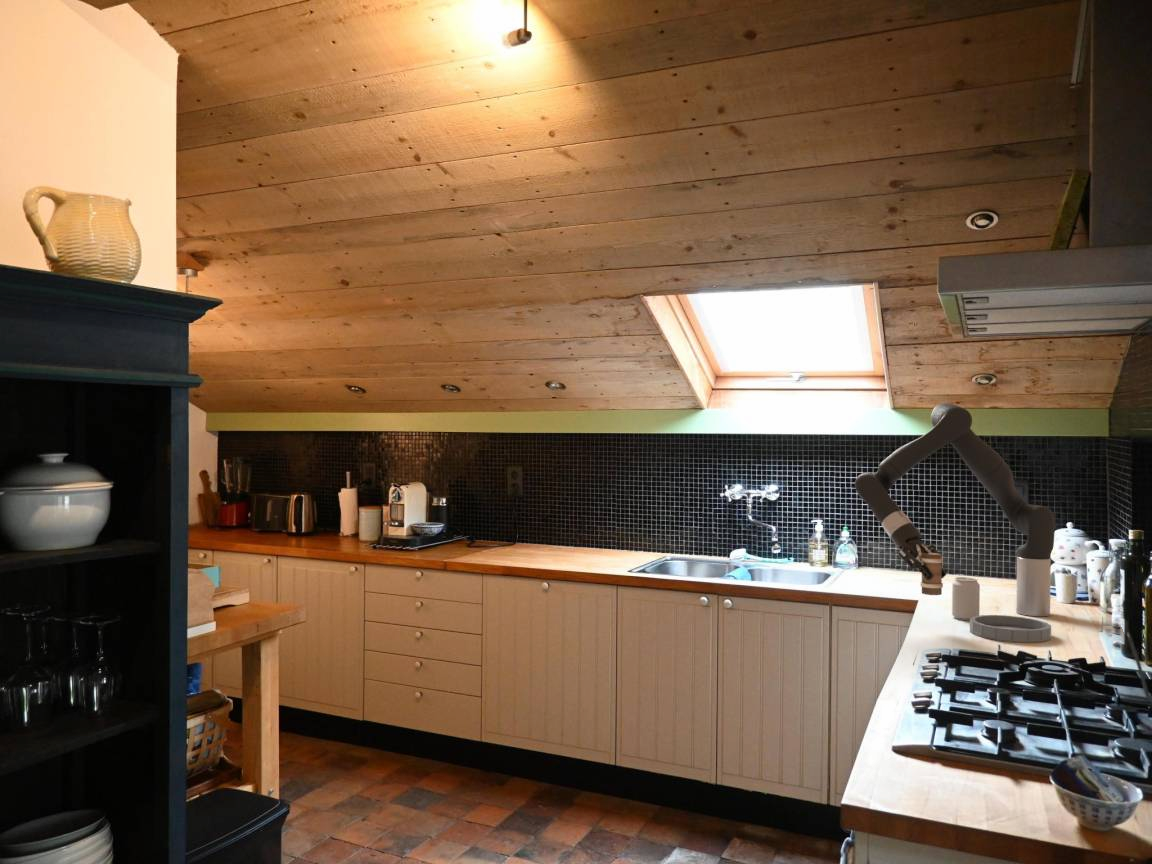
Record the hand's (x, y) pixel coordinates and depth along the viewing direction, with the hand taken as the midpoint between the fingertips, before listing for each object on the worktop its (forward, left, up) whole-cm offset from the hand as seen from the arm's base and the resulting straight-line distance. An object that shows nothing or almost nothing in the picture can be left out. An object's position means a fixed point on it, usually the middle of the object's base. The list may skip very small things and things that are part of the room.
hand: (937, 577), depth 252 cm
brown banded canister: (-1, -1, -5) cm, 5 cm away
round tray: (+1, +19, -15) cm, 24 cm away
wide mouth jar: (-19, +12, -15) cm, 27 cm away
